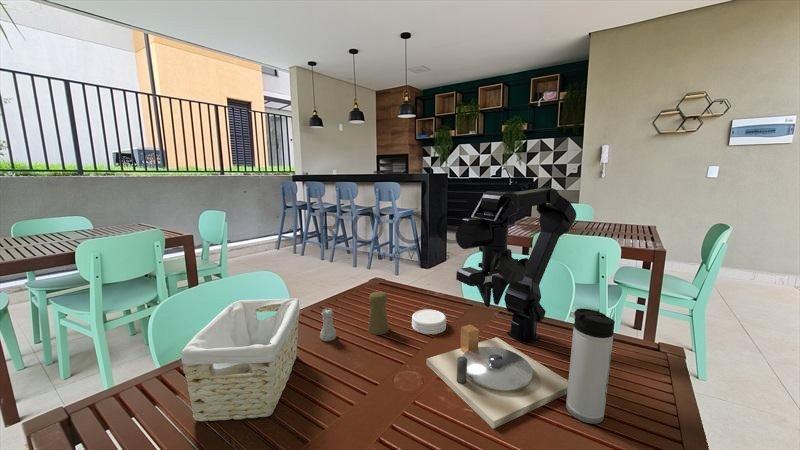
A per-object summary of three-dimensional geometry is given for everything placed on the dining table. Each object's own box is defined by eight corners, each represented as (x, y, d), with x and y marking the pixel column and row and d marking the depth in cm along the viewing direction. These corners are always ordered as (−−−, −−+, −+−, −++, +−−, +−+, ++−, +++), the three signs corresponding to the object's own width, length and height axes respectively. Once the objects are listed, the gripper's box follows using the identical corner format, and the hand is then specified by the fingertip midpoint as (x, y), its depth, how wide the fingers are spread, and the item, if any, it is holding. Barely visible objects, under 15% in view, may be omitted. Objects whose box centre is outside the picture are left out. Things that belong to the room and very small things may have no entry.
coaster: (451, 324, 98) (451, 313, 97) (436, 339, 89) (437, 326, 89) (422, 316, 103) (422, 306, 102) (405, 329, 95) (405, 318, 94)
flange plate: (547, 378, 69) (549, 353, 68) (494, 401, 62) (495, 373, 61) (488, 340, 85) (489, 319, 84) (440, 354, 78) (440, 332, 77)
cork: (385, 335, 91) (385, 297, 89) (365, 333, 92) (364, 296, 90) (390, 325, 96) (390, 290, 95) (371, 323, 98) (370, 288, 96)
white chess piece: (339, 335, 90) (339, 308, 89) (329, 343, 86) (329, 314, 85) (326, 332, 92) (325, 305, 91) (316, 339, 88) (315, 311, 87)
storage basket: (237, 354, 81) (232, 298, 79) (304, 351, 83) (301, 296, 80) (183, 429, 58) (174, 352, 55) (278, 423, 59) (274, 347, 57)
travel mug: (557, 401, 65) (566, 305, 62) (589, 399, 65) (599, 304, 62) (577, 425, 59) (587, 320, 55) (611, 423, 59) (624, 319, 56)
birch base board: (496, 342, 87) (497, 319, 86) (573, 390, 68) (575, 362, 67) (426, 364, 77) (426, 338, 76) (493, 428, 58) (495, 395, 57)
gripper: (489, 256, 68) (485, 326, 70) (550, 246, 76) (544, 310, 79) (455, 245, 77) (453, 307, 80) (513, 238, 86) (509, 295, 89)
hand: (491, 305), depth 82 cm, fingers open, 3 cm apart
